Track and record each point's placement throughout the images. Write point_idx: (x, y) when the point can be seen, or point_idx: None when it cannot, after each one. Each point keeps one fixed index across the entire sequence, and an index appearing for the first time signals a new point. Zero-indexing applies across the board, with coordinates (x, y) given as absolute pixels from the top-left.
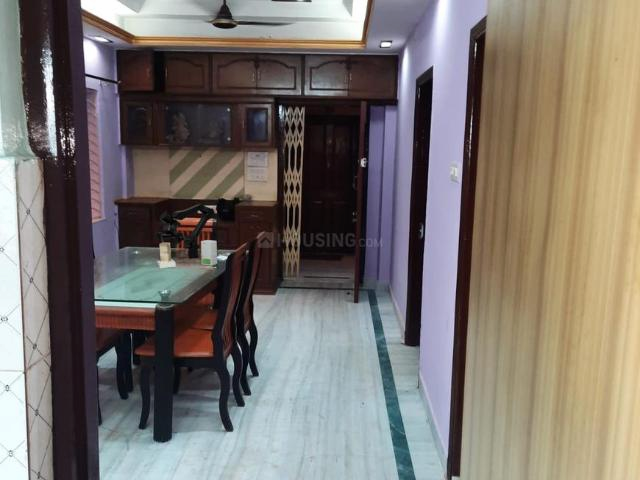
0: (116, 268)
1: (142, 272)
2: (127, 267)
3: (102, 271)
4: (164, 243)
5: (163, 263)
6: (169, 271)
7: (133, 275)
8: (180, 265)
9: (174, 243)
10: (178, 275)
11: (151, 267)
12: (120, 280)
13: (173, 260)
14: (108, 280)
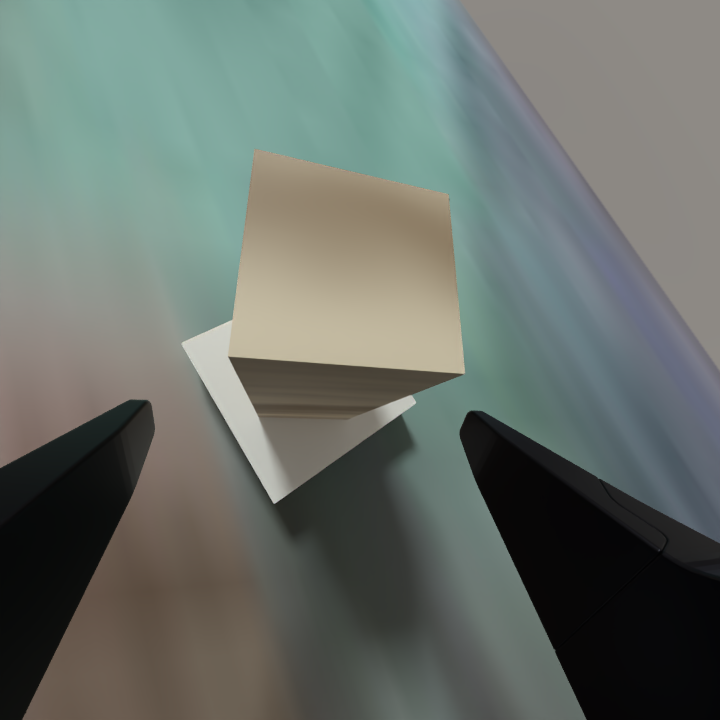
0: (618, 326)
1: None
2: (576, 350)
3: (632, 257)
4: (354, 236)
5: None
6: (193, 171)
7: (410, 124)
8: None
9: (80, 443)
10: (66, 30)
11: None
12: (419, 43)
13: (232, 426)
14: (476, 63)
